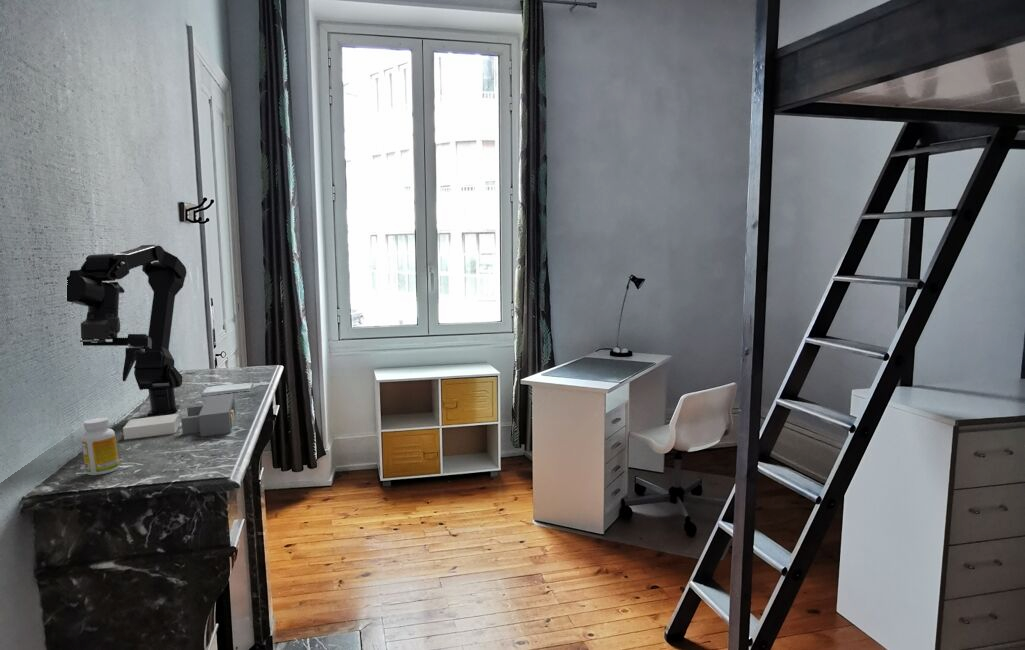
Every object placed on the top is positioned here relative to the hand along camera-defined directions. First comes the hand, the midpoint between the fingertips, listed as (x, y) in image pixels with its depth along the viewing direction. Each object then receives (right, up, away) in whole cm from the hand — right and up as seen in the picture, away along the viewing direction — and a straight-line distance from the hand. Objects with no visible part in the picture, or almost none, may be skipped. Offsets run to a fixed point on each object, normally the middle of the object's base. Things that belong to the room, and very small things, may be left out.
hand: (100, 381), depth 148 cm
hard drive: (+9, -7, +46) cm, 47 cm away
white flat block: (+8, -12, +6) cm, 16 cm away
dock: (+20, -11, +10) cm, 24 cm away
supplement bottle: (+13, -15, -20) cm, 28 cm away
